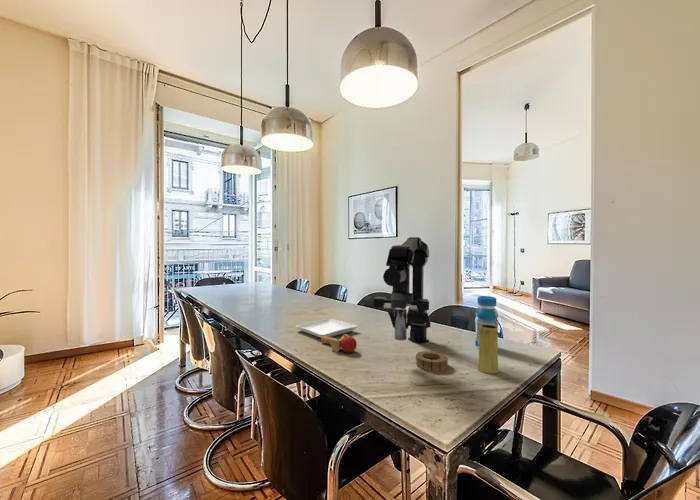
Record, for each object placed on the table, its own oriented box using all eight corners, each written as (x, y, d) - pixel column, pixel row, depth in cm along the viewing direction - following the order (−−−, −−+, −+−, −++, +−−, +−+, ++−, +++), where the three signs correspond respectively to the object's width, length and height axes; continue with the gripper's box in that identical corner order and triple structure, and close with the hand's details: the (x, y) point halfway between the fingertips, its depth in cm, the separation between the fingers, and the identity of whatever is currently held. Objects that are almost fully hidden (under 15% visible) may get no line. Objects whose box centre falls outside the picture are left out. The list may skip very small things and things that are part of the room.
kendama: (314, 348, 121) (346, 354, 108) (315, 332, 122) (346, 335, 110) (329, 348, 126) (361, 353, 114) (330, 332, 128) (361, 335, 115)
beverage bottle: (483, 352, 115) (484, 299, 114) (470, 344, 123) (470, 295, 123) (503, 350, 116) (503, 298, 116) (488, 343, 125) (489, 295, 124)
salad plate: (294, 331, 141) (294, 324, 141) (329, 324, 155) (329, 317, 155) (322, 342, 125) (322, 334, 125) (358, 333, 140) (358, 325, 140)
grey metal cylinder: (401, 336, 106) (401, 307, 106) (408, 339, 103) (409, 309, 103) (392, 337, 104) (392, 308, 104) (399, 341, 101) (399, 311, 101)
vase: (497, 375, 94) (498, 329, 93) (476, 371, 97) (476, 326, 97) (499, 369, 99) (500, 325, 99) (479, 365, 102) (480, 322, 102)
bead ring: (431, 357, 108) (431, 349, 108) (453, 367, 100) (453, 358, 100) (409, 363, 103) (410, 354, 103) (431, 373, 95) (431, 364, 95)
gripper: (369, 284, 98) (369, 332, 98) (429, 287, 93) (428, 337, 93) (375, 280, 109) (375, 323, 109) (429, 282, 104) (428, 327, 104)
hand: (400, 328), depth 104 cm, fingers closed on grey metal cylinder, 4 cm apart
